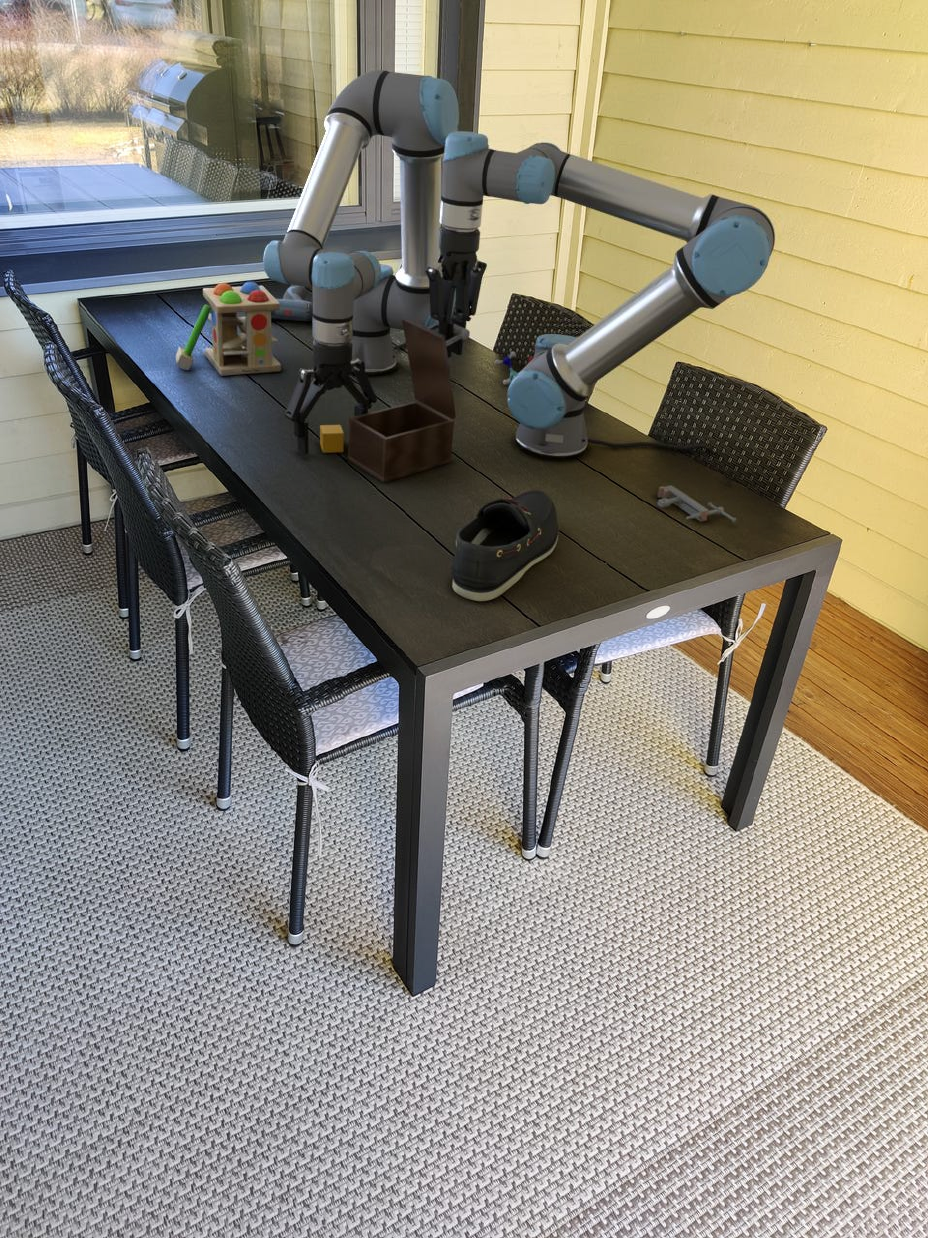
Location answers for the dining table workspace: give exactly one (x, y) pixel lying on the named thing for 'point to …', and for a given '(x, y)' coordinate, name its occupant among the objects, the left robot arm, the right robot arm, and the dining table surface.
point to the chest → (400, 440)
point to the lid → (431, 364)
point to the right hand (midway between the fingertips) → (450, 353)
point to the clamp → (669, 498)
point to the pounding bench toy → (229, 347)
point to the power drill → (294, 305)
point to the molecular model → (507, 362)
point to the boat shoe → (503, 544)
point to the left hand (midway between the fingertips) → (331, 444)
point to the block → (331, 438)
